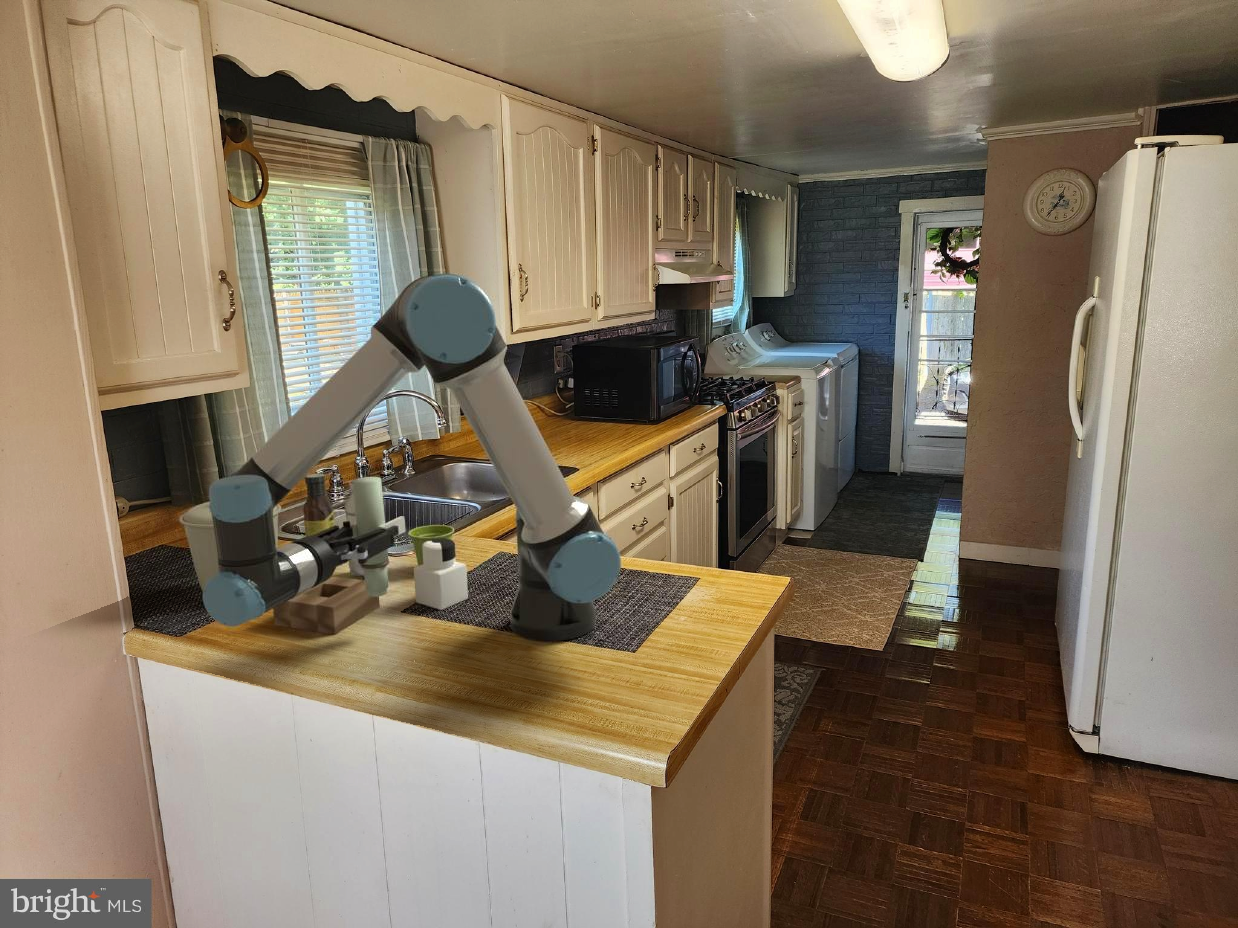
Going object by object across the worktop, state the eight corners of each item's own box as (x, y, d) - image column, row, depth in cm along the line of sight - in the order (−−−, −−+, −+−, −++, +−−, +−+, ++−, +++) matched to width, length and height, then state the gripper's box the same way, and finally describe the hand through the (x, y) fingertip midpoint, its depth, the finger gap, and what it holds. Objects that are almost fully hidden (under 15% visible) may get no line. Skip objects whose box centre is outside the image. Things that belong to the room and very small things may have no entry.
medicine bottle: (443, 591, 167) (439, 533, 164) (468, 598, 163) (465, 539, 160) (415, 602, 161) (410, 542, 158) (441, 610, 157) (437, 549, 154)
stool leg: (397, 589, 147) (387, 477, 142) (381, 599, 142) (370, 484, 138) (374, 587, 148) (363, 476, 144) (357, 596, 144) (346, 482, 139)
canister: (236, 573, 179) (225, 476, 175) (308, 581, 174) (298, 481, 169) (167, 603, 162) (153, 497, 158) (245, 613, 157) (232, 504, 152)
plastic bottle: (369, 567, 181) (362, 476, 177) (388, 574, 177) (381, 481, 173) (343, 575, 176) (335, 482, 172) (362, 582, 172) (354, 487, 168)
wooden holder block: (379, 607, 159) (377, 582, 158) (335, 634, 147) (333, 607, 146) (322, 599, 163) (320, 575, 162) (274, 625, 151) (272, 598, 150)
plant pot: (403, 569, 180) (400, 530, 178) (442, 559, 186) (440, 521, 184) (424, 580, 173) (421, 540, 171) (464, 570, 179) (462, 531, 177)
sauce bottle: (341, 566, 182) (333, 476, 178) (310, 571, 180) (301, 480, 175) (336, 557, 188) (328, 470, 184) (306, 562, 185) (298, 474, 181)
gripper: (255, 584, 130) (350, 539, 151) (351, 595, 124) (435, 547, 146) (249, 537, 128) (345, 499, 150) (346, 546, 123) (432, 505, 144)
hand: (389, 522), depth 148 cm, fingers closed on stool leg, 4 cm apart
